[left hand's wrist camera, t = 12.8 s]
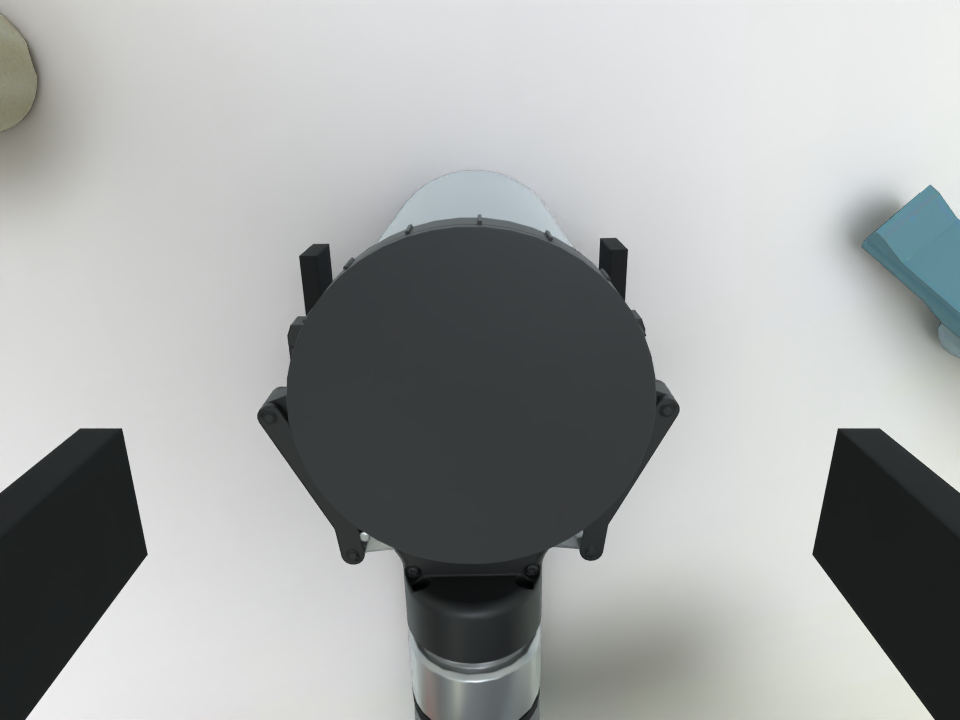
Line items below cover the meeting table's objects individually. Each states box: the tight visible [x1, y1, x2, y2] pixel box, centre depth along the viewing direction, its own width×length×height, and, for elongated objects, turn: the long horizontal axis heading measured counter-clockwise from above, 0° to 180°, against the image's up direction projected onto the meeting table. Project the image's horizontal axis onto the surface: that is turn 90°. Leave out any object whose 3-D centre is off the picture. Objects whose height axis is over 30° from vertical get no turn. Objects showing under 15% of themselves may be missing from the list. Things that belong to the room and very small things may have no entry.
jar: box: [377, 170, 573, 247], centre depth 29 cm, size 10×10×19 cm
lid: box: [286, 214, 656, 564], centre depth 20 cm, size 11×11×2 cm
